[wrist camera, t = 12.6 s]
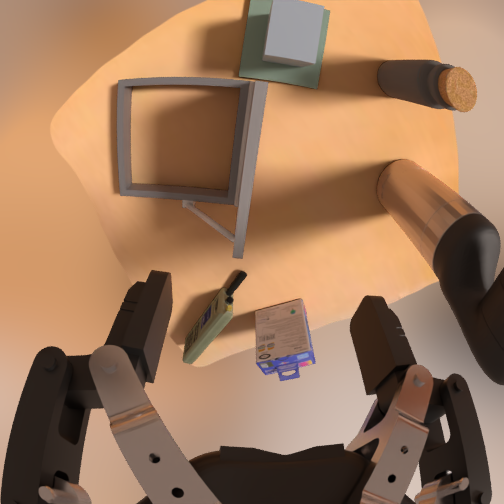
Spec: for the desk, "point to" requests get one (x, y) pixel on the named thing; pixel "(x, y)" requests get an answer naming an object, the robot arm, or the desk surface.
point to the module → (293, 33)
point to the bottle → (428, 84)
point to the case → (242, 153)
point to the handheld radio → (211, 321)
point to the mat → (268, 70)
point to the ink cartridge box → (283, 339)
